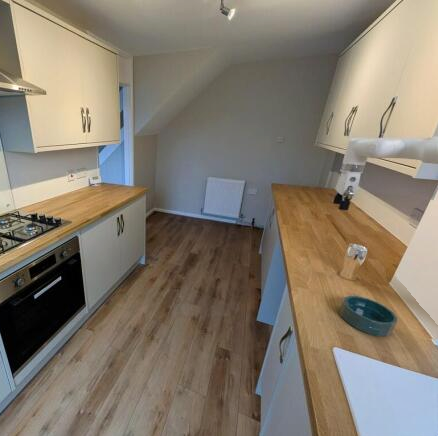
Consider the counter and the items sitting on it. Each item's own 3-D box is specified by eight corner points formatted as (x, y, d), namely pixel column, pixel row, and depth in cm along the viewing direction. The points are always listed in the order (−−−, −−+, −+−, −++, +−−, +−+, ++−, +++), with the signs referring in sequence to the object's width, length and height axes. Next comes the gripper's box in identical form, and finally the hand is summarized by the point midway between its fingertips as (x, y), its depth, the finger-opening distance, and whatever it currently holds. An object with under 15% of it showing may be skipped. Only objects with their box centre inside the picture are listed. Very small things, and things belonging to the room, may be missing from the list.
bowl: (381, 315, 85) (386, 302, 84) (399, 343, 74) (405, 329, 72) (335, 303, 91) (339, 291, 89) (345, 328, 79) (350, 315, 77)
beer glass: (340, 270, 113) (349, 242, 108) (359, 276, 108) (369, 247, 103) (336, 275, 109) (346, 246, 104) (355, 282, 104) (366, 252, 99)
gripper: (371, 172, 91) (356, 213, 97) (356, 166, 106) (344, 202, 112) (347, 170, 94) (334, 211, 100) (336, 165, 109) (325, 200, 115)
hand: (340, 206), depth 106 cm, fingers open, 9 cm apart
